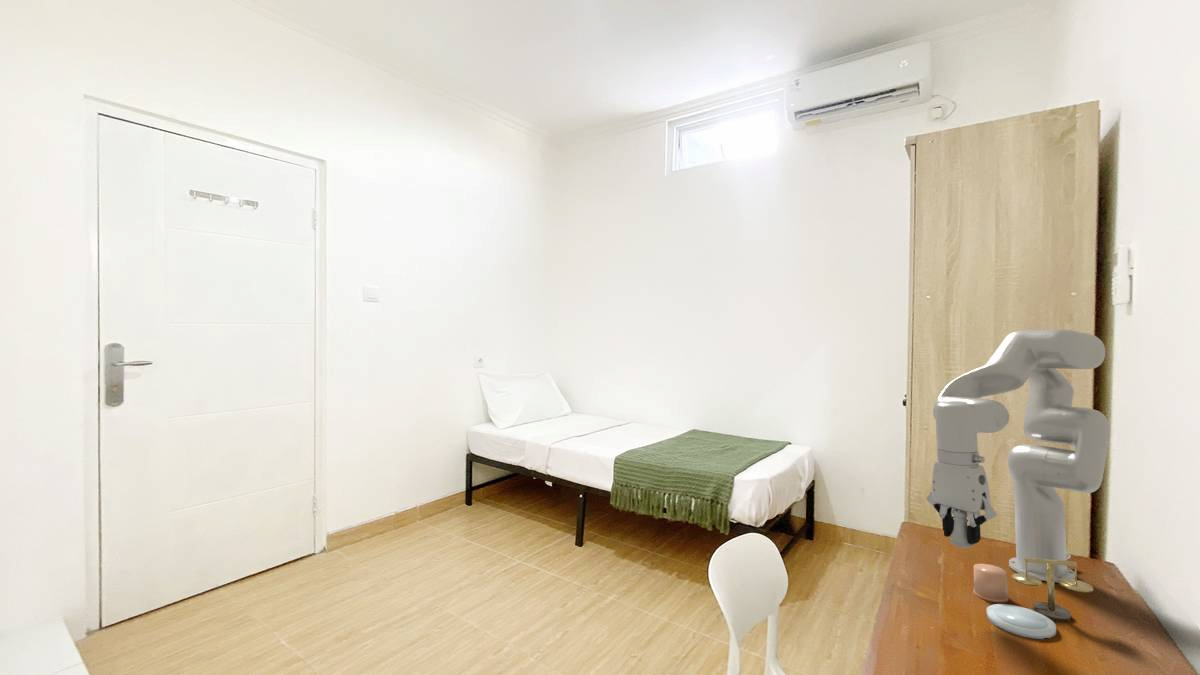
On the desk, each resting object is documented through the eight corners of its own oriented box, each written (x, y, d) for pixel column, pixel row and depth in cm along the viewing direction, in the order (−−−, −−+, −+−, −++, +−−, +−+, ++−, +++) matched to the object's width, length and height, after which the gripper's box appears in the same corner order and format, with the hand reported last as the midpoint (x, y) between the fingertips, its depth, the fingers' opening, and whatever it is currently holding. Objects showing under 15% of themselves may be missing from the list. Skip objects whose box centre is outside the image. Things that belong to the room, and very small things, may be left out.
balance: (1021, 596, 115) (1019, 541, 115) (1100, 625, 102) (1098, 564, 103) (1007, 602, 112) (1004, 546, 112) (1086, 633, 100) (1083, 570, 100)
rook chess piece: (978, 549, 110) (976, 512, 110) (955, 548, 111) (953, 511, 111) (967, 540, 114) (966, 505, 114) (945, 539, 115) (944, 505, 115)
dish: (1004, 604, 111) (1004, 598, 111) (1067, 629, 101) (1067, 623, 101) (975, 617, 107) (975, 611, 107) (1038, 644, 97) (1038, 637, 97)
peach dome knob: (983, 586, 120) (982, 561, 120) (1014, 598, 114) (1013, 571, 114) (967, 592, 117) (966, 566, 117) (998, 605, 111) (997, 578, 111)
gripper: (1010, 462, 107) (1014, 548, 107) (929, 448, 122) (933, 524, 122) (990, 467, 104) (994, 556, 103) (909, 452, 119) (913, 530, 119)
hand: (961, 538), depth 113 cm, fingers closed on rook chess piece, 4 cm apart
